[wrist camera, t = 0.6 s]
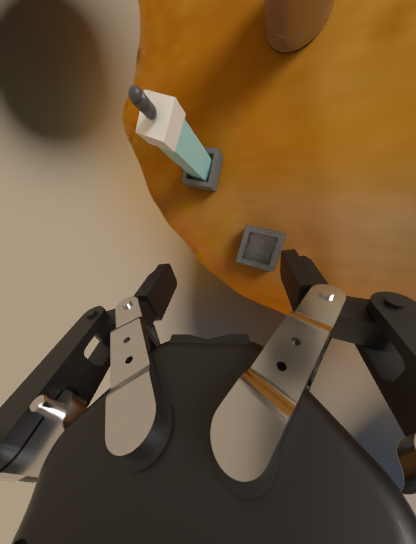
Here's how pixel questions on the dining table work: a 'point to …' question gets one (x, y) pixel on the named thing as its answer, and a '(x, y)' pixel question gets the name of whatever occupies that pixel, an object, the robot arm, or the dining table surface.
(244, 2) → the dining table surface
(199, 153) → the plug
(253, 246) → the tray
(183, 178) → the holster
